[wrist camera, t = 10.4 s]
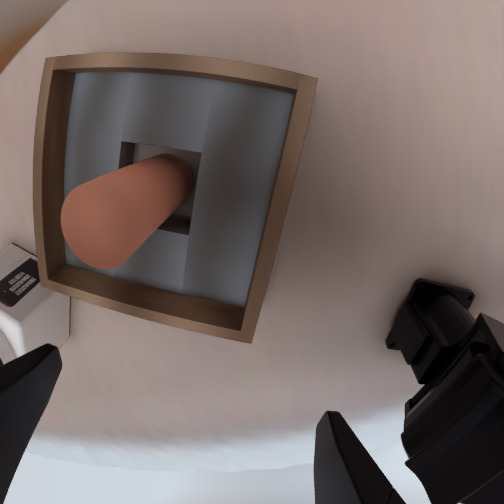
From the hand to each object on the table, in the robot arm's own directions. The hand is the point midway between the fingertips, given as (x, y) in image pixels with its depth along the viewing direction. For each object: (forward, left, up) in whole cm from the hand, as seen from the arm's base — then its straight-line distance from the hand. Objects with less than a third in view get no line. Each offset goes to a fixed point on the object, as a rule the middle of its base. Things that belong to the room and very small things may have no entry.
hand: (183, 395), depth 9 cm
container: (+17, +9, -13) cm, 23 cm away
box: (+5, -3, -13) cm, 14 cm away
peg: (+5, -3, -13) cm, 14 cm away
